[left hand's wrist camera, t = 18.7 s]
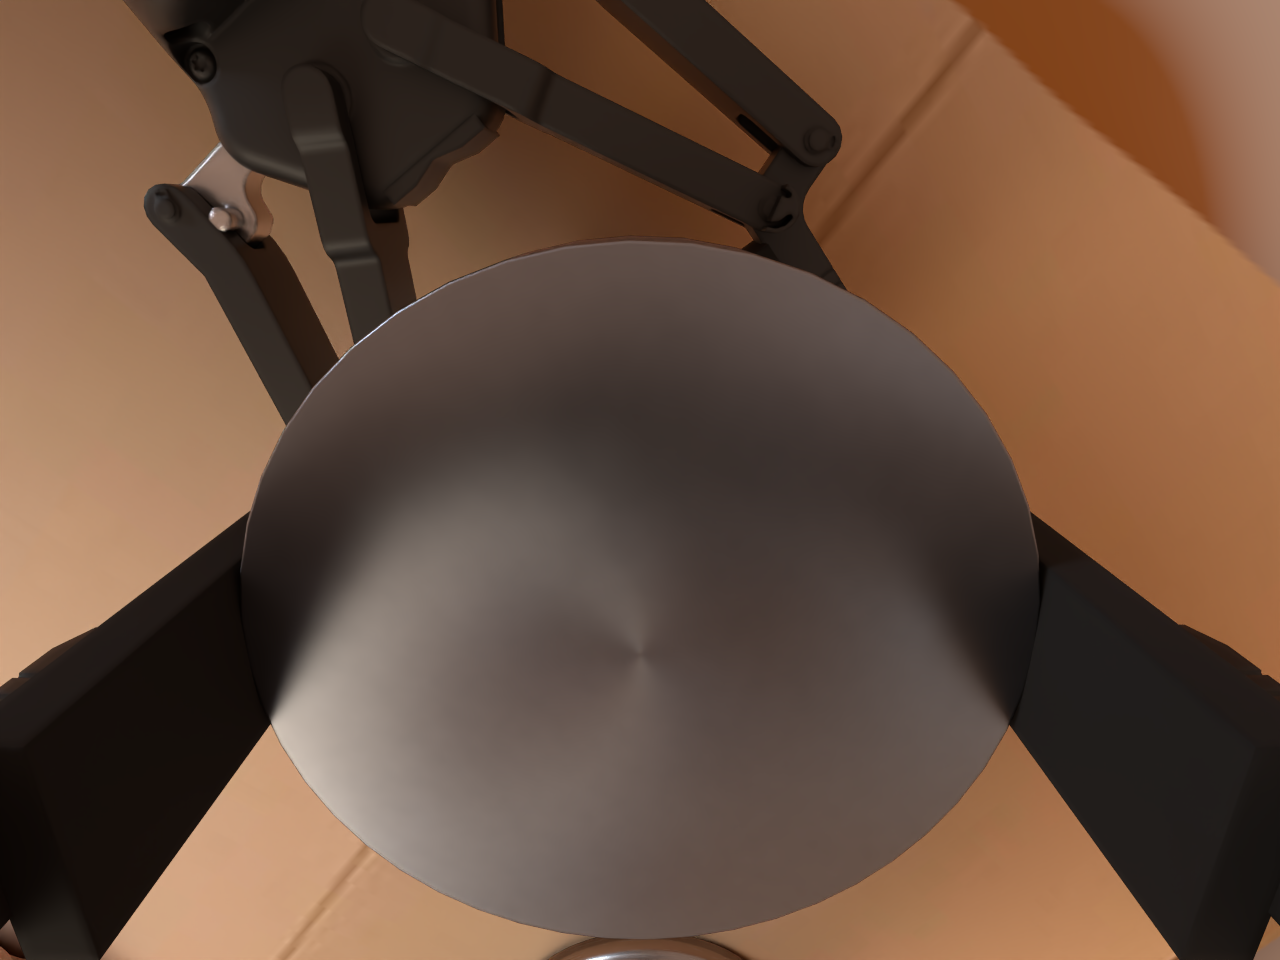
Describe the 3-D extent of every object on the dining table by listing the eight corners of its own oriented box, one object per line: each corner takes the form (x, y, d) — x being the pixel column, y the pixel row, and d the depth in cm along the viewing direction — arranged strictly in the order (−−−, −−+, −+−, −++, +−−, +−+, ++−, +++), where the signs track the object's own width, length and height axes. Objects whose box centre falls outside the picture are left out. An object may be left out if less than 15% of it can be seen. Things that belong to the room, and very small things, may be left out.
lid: (1084, 689, 13) (1151, 761, 11) (546, 934, 15) (535, 1025, 13) (785, 63, 9) (816, 31, 8) (145, 488, 11) (61, 534, 10)
